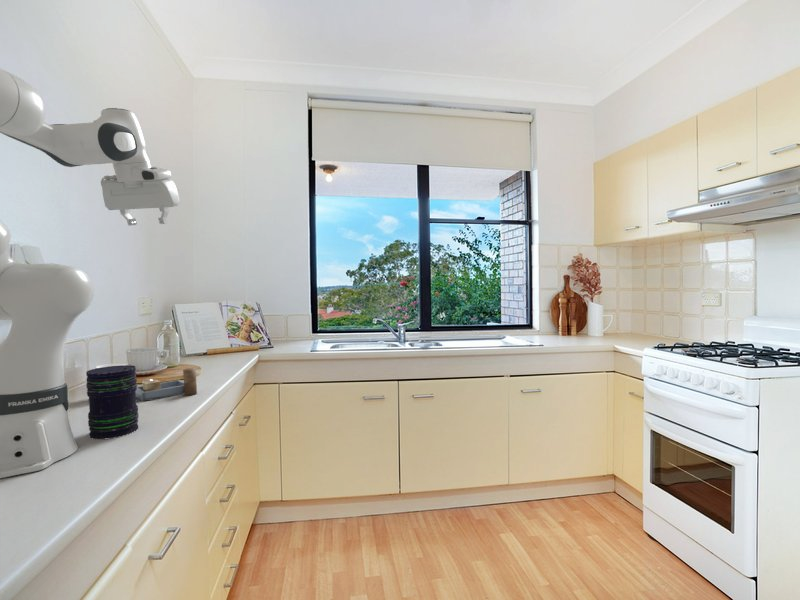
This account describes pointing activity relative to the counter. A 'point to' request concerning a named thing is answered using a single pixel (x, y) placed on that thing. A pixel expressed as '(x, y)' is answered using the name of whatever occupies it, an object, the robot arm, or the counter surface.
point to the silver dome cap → (147, 380)
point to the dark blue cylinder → (112, 401)
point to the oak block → (151, 385)
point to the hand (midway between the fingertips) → (148, 224)
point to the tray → (161, 390)
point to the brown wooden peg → (190, 381)
